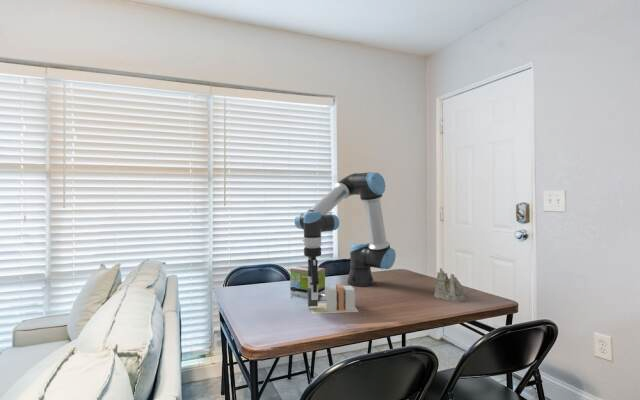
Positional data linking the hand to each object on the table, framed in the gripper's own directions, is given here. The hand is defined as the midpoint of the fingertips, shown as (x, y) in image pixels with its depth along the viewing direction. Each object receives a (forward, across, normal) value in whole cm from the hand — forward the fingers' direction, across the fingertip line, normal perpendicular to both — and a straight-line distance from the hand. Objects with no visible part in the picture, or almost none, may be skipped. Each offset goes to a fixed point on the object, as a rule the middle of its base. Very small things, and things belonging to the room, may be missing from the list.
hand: (313, 295), depth 155 cm
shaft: (+4, 0, +7) cm, 8 cm away
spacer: (+6, 0, +12) cm, 13 cm away
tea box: (+8, -23, 0) cm, 24 cm away
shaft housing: (+7, 0, +9) cm, 11 cm away
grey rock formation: (+8, -14, +71) cm, 73 cm away
